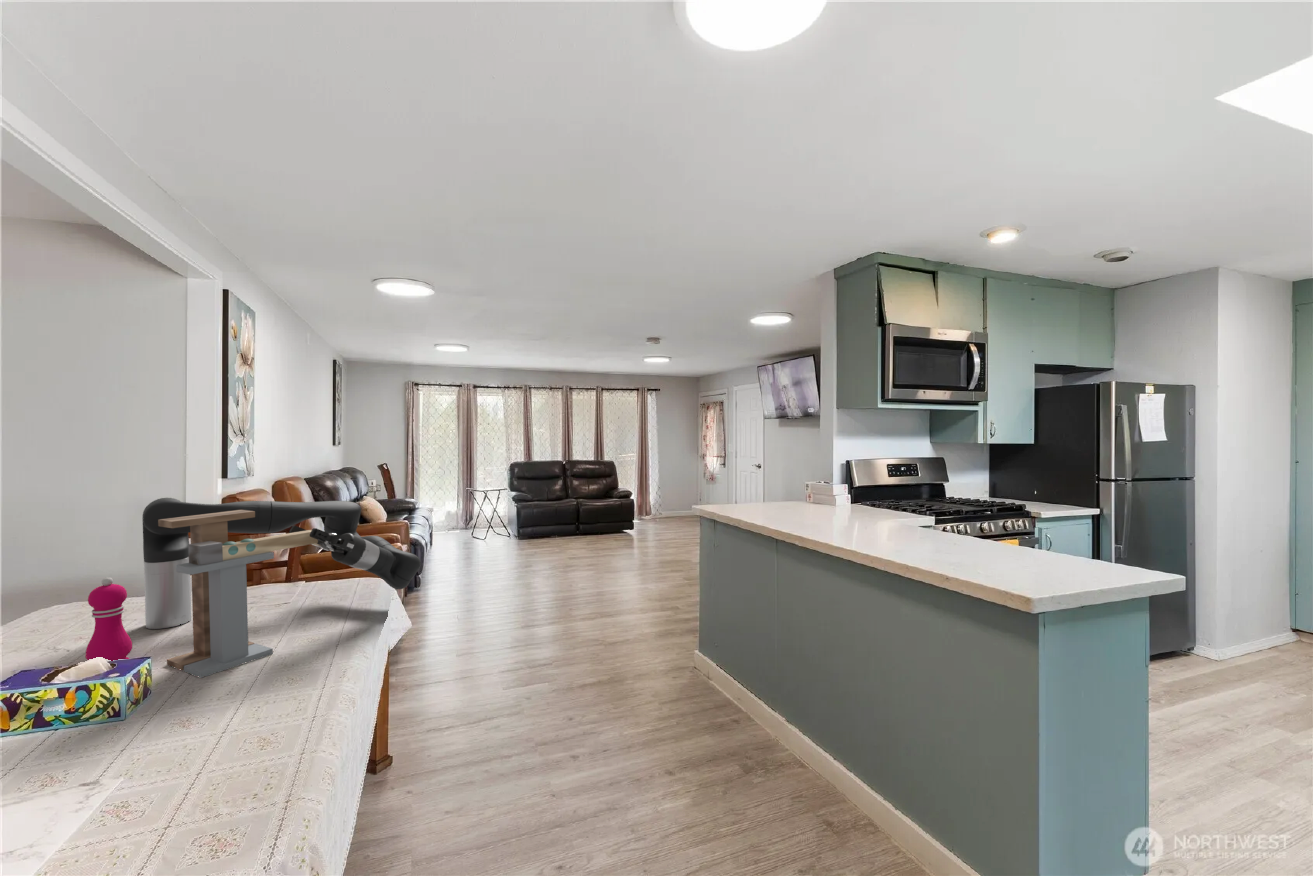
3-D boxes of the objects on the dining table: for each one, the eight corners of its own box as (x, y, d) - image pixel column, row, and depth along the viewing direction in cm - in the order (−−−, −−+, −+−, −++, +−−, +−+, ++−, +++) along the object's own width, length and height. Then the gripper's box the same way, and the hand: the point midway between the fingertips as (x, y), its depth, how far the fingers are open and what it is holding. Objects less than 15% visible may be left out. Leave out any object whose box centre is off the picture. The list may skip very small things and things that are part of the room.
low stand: (178, 673, 120) (175, 564, 119) (260, 647, 134) (258, 549, 133) (194, 680, 116) (191, 568, 116) (277, 652, 130) (275, 552, 130)
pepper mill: (103, 679, 117) (100, 583, 117) (76, 676, 118) (73, 581, 118) (141, 665, 124) (139, 573, 124) (115, 662, 126) (113, 572, 125)
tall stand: (161, 666, 123) (157, 519, 122) (243, 641, 137) (240, 509, 137) (176, 672, 120) (172, 521, 119) (259, 646, 134) (256, 511, 133)
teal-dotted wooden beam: (188, 563, 120) (188, 544, 120) (308, 541, 142) (307, 525, 142) (200, 565, 118) (200, 546, 118) (320, 543, 140) (319, 527, 140)
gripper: (345, 536, 156) (292, 514, 143) (379, 541, 149) (326, 518, 137) (333, 563, 153) (277, 542, 140) (367, 568, 146) (311, 548, 134)
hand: (301, 530), depth 138 cm, fingers open, 8 cm apart
